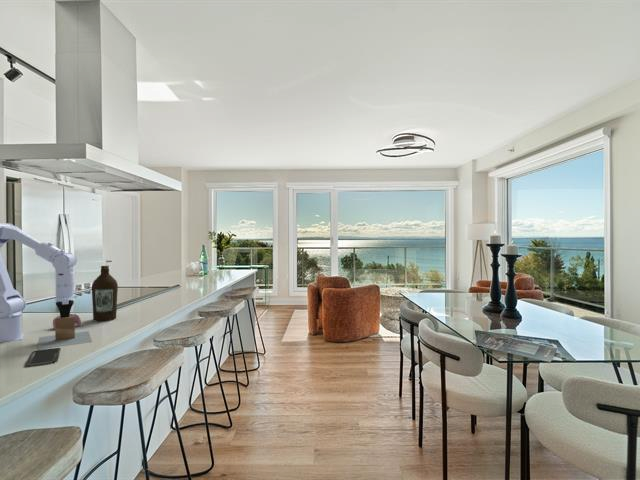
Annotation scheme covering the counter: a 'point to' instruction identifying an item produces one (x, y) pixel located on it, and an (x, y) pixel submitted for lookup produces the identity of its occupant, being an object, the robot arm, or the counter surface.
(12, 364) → the counter surface
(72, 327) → the walnut tile
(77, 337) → the rubber mat
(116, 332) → the counter surface
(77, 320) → the video game controller
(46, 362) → the phone
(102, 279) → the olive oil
